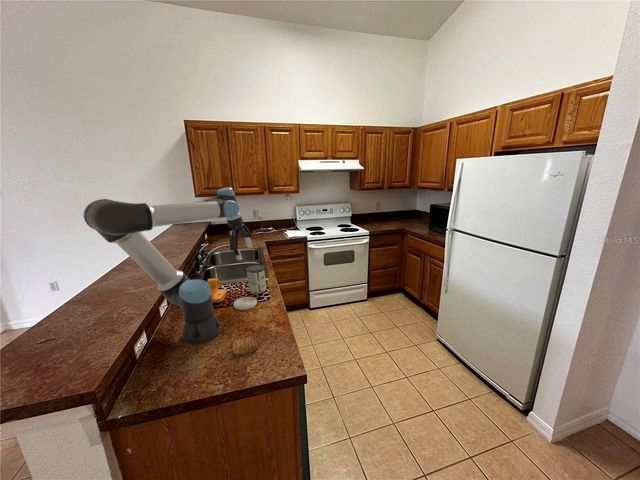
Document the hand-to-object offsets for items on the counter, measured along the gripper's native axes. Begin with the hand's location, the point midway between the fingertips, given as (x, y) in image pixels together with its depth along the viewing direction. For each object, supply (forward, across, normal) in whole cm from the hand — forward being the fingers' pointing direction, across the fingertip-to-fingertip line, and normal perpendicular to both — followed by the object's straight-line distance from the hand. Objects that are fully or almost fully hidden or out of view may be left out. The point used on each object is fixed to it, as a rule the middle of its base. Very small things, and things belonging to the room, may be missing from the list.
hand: (245, 253), depth 143 cm
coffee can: (+25, 0, 0) cm, 25 cm away
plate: (+22, -16, -1) cm, 27 cm away
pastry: (+17, -49, -17) cm, 55 cm away
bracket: (+21, -13, +17) cm, 30 cm away
